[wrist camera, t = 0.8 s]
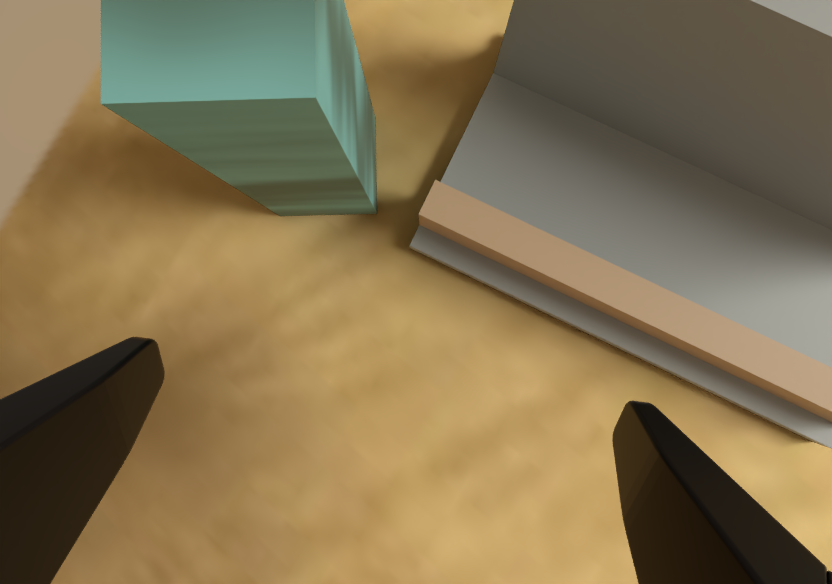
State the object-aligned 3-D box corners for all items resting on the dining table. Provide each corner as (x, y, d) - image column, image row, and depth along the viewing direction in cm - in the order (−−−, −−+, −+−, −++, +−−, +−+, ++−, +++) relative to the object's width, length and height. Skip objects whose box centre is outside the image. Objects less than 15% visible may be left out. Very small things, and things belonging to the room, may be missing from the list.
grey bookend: (814, 442, 22) (1141, 555, 12) (410, 248, 22) (396, 200, 12) (916, 220, 22) (1323, 148, 12) (513, 34, 23) (582, -180, 13)
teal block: (377, 213, 23) (315, 97, 10) (279, 215, 23) (100, 103, 10) (375, 117, 23) (313, -115, 10) (279, 120, 23) (100, -107, 10)
